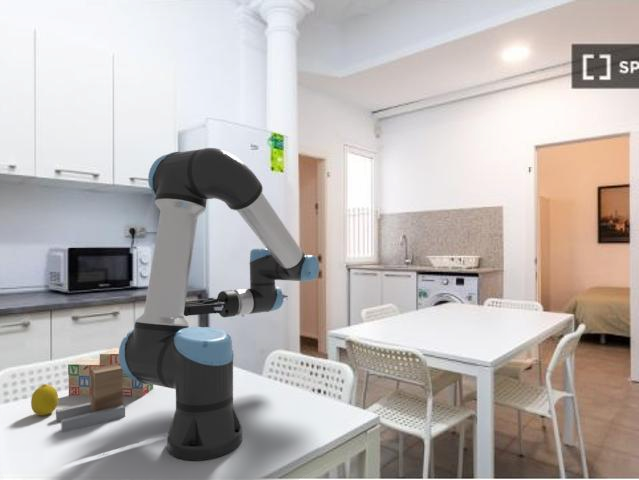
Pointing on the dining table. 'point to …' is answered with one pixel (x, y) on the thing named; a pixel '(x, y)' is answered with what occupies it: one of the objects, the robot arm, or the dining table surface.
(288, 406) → the dining table surface
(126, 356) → the robot arm
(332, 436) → the dining table surface
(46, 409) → the lemon
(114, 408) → the chute
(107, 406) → the block
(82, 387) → the stack of blocks
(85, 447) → the dining table surface
